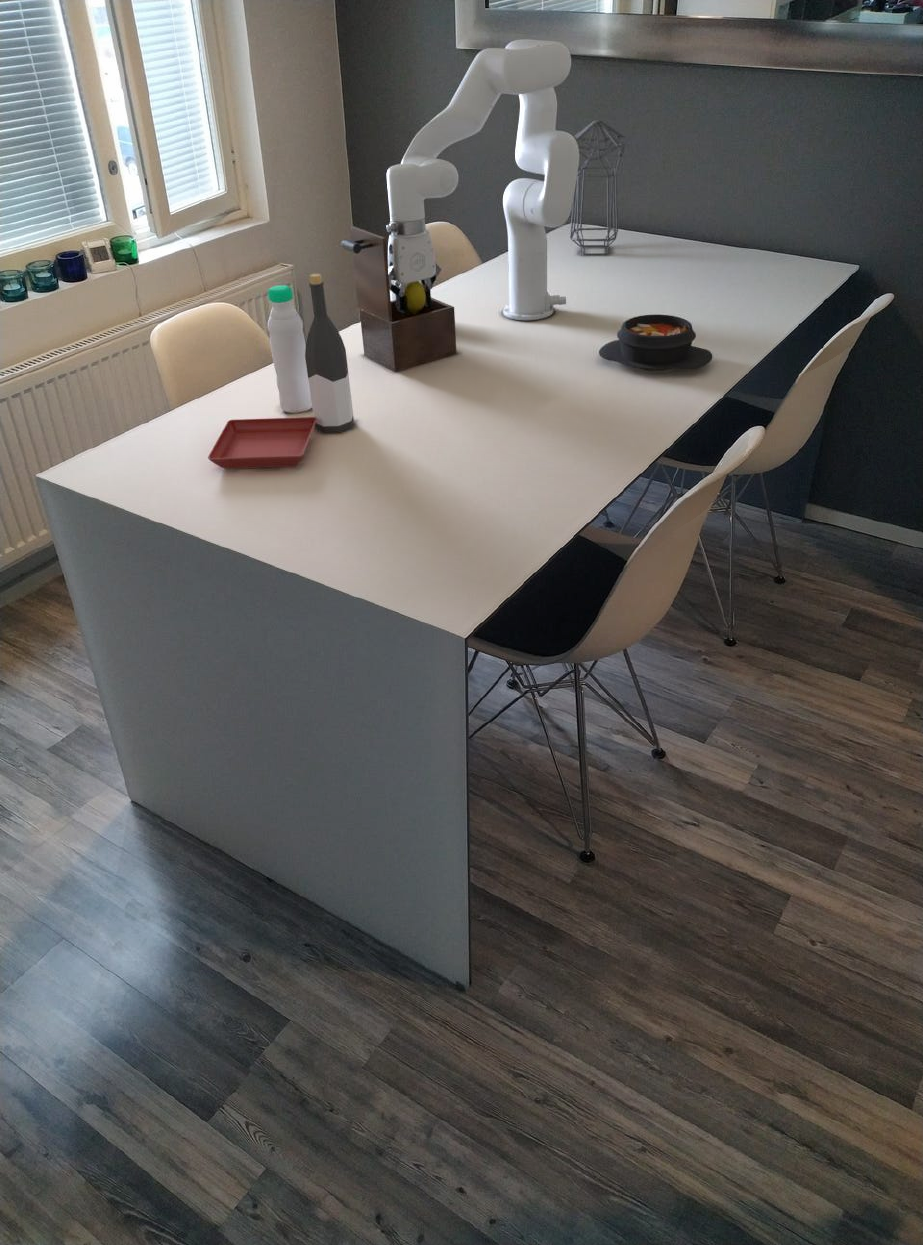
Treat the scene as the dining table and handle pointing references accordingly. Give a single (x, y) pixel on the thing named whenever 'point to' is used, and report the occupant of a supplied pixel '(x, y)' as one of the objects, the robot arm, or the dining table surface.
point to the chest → (409, 336)
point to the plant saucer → (262, 442)
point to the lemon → (415, 296)
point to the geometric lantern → (614, 139)
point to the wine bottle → (327, 368)
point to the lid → (370, 272)
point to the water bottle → (288, 351)
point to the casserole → (656, 344)
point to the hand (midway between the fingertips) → (414, 308)
